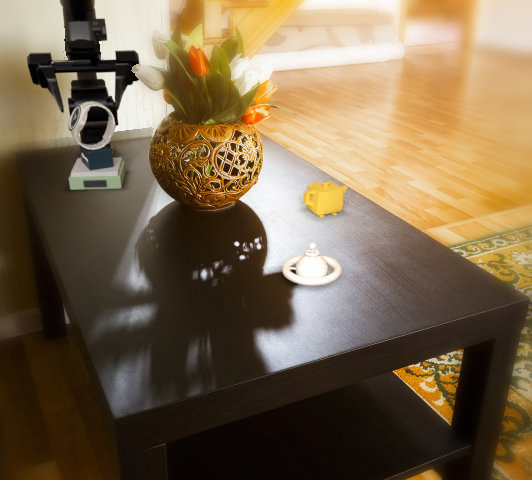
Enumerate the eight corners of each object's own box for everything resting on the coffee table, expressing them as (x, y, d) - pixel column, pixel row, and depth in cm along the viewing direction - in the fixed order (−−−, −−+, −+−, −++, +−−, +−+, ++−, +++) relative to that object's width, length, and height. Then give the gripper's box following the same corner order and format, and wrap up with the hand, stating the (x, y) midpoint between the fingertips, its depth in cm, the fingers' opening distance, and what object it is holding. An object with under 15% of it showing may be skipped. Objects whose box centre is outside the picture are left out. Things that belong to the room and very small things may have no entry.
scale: (77, 172, 120) (75, 157, 118) (125, 171, 121) (124, 156, 119) (70, 190, 112) (67, 174, 110) (121, 189, 113) (119, 173, 111)
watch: (71, 163, 116) (61, 102, 110) (113, 156, 119) (106, 97, 113) (79, 172, 111) (69, 109, 106) (123, 165, 115) (116, 104, 109)
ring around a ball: (320, 301, 80) (352, 278, 85) (321, 261, 77) (354, 239, 83) (270, 284, 84) (303, 263, 90) (269, 245, 81) (304, 226, 87)
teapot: (334, 201, 110) (336, 172, 107) (352, 213, 105) (355, 183, 102) (294, 208, 107) (295, 178, 104) (310, 220, 102) (312, 190, 99)
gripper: (17, 0, 103) (24, 85, 100) (133, -1, 107) (144, 80, 104) (29, 44, 114) (36, 122, 110) (134, 42, 118) (144, 117, 114)
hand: (90, 110), depth 109 cm, fingers open, 9 cm apart
